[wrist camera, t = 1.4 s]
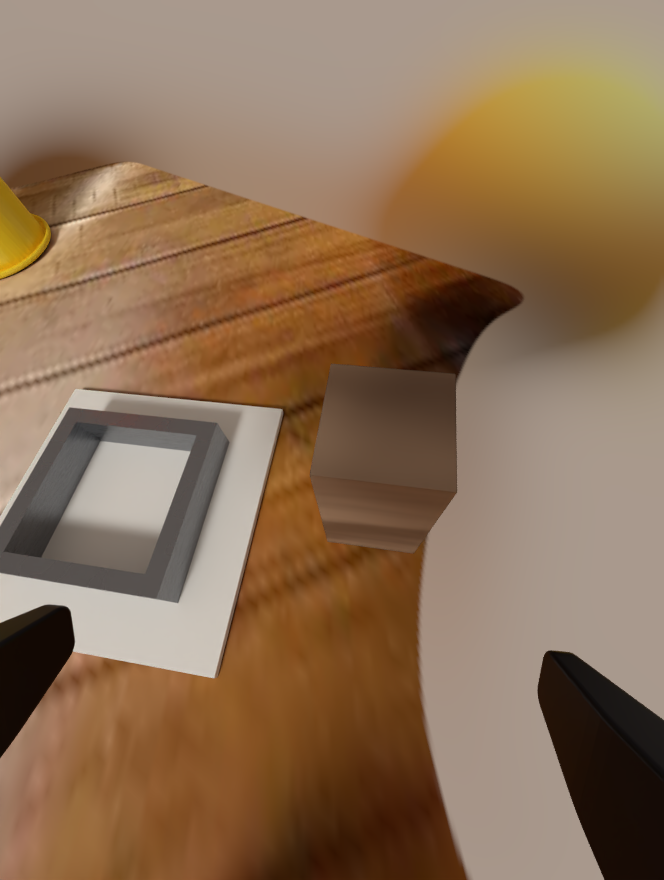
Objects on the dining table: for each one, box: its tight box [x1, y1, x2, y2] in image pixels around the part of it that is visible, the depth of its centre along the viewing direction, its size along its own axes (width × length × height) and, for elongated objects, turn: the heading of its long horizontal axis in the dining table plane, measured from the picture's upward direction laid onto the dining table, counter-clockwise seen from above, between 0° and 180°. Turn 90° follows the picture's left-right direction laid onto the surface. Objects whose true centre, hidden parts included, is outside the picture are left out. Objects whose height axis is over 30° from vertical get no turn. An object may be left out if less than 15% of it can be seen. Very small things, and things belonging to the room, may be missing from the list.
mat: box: [0, 389, 283, 678], centre depth 23 cm, size 16×16×1 cm
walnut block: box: [310, 364, 457, 553], centre depth 18 cm, size 5×5×10 cm
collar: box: [0, 407, 229, 603], centre depth 22 cm, size 10×10×2 cm
